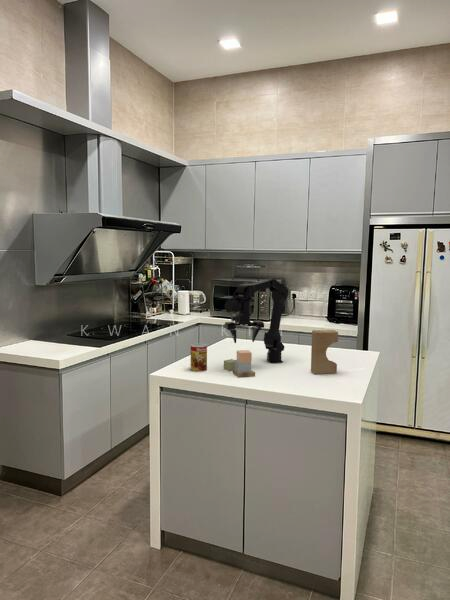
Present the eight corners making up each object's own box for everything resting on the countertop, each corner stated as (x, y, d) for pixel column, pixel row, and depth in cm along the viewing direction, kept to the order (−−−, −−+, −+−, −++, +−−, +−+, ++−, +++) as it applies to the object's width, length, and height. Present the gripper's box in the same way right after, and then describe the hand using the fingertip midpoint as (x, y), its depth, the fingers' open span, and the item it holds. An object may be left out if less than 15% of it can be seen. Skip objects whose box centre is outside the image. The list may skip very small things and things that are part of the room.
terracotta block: (247, 359, 208) (248, 350, 207) (251, 362, 202) (251, 352, 202) (236, 360, 206) (236, 350, 206) (239, 362, 201) (240, 353, 200)
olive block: (231, 368, 217) (231, 359, 217) (238, 370, 213) (238, 361, 213) (223, 369, 214) (223, 360, 213) (230, 371, 210) (230, 362, 210)
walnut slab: (249, 373, 210) (249, 368, 210) (254, 377, 202) (255, 372, 202) (232, 374, 208) (233, 369, 207) (238, 379, 200) (238, 373, 200)
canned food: (200, 372, 208) (200, 347, 206) (187, 370, 212) (187, 345, 210) (210, 369, 214) (210, 344, 213) (196, 366, 218) (196, 342, 217)
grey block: (247, 368, 208) (247, 359, 208) (251, 372, 202) (251, 362, 202) (235, 369, 207) (235, 359, 206) (238, 372, 201) (238, 363, 201)
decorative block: (332, 370, 214) (334, 329, 212) (337, 373, 208) (338, 331, 206) (310, 371, 212) (311, 330, 210) (314, 374, 207) (315, 332, 205)
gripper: (256, 307, 224) (255, 338, 226) (220, 309, 218) (220, 340, 220) (264, 310, 214) (264, 342, 215) (228, 312, 208) (227, 345, 210)
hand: (244, 342), depth 215 cm, fingers open, 9 cm apart
